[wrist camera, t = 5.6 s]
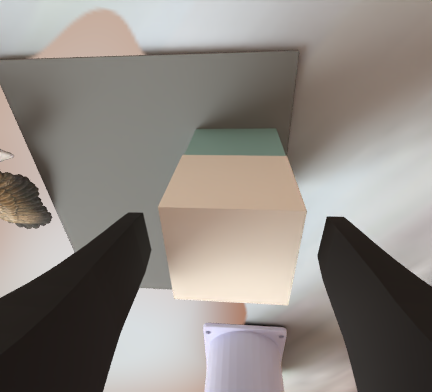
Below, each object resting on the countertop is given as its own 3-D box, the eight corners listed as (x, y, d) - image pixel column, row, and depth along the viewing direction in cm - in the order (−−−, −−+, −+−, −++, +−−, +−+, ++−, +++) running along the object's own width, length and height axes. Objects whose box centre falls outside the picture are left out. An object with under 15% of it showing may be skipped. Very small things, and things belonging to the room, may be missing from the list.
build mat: (269, 290, 22) (269, 294, 22) (91, 281, 24) (89, 285, 23) (297, 50, 13) (299, 51, 12) (-5, 59, 14) (-11, 60, 14)
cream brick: (276, 236, 13) (288, 305, 10) (190, 233, 14) (173, 298, 10) (286, 155, 11) (306, 210, 8) (182, 154, 11) (157, 206, 8)
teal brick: (269, 196, 17) (277, 238, 14) (201, 195, 17) (191, 235, 14) (276, 128, 14) (286, 158, 11) (196, 128, 15) (182, 157, 12)
